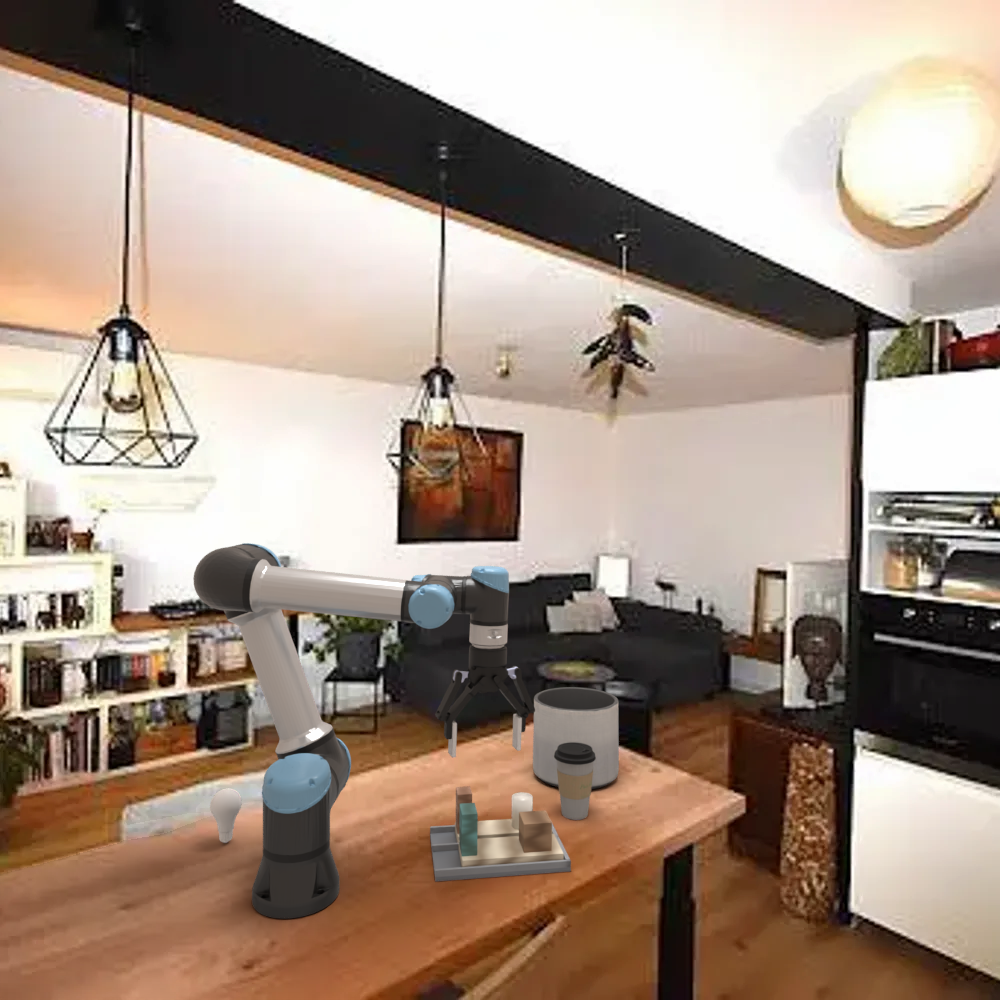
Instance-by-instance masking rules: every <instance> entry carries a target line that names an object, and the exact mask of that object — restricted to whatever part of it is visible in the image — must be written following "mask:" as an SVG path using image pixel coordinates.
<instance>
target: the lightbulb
mask: <svg viewBox="0 0 1000 1000" xmlns="http://www.w3.org/2000/svg"><path fill="white" fill-rule="evenodd" d="M242 800H243V799H242V797H241V795H240V792H238V791H237V790H236V789H234V788H231V787H230V788H229V787H227V788H223V789H220V790H218V791H217V792H216V793H215V794H214V795H213V797H212V798H211V800H210V805H209V809H210V813H211V814H212V817H214V819H215V823H216V825H217V832H218V836H219V837H218V839H219V841H220V842H221V843H223V844H227V843H229V841H231V840H232V839H233V835H234V832H233V831H234V828H235V823H236V818H237V817H238V814H239V813H240V810H241V808H242V804H243V803H242Z"/></svg>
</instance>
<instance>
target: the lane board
mask: <svg viewBox="0 0 1000 1000" xmlns="http://www.w3.org/2000/svg"><path fill="white" fill-rule="evenodd" d="M552 834H554V835H555V837H556V839H557V841H558V843H559V845H560V847H561V849H562V851H563V853H564V860H554V861H540V862H526V863H513V864H499V865H485V866H471V867H462V866H461V861H460V855H459V850H458V848H459V843H457V839H456V834H455V824H452V825H450V824H449V825H433V826H431V825H430V827H429V837H430V846H431V855H432V856H431V857H432V865H433V874H434V882H445V881H457V880H460V881H461V880H471V879H472V880H473V879H486V878H500V877H514V876H523V875H524V876H525V875H527V876H529V875H539V874H552V873H566V872H571V870H572V860H571V858H570V856H569V854H568V853H567V850H566V848H565V846H564V844H563V842H562V840H561V839H560V836H559V834H558V832H557V830H556V827H555V826H554V824H553V823H552Z"/></svg>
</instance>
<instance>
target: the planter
mask: <svg viewBox="0 0 1000 1000" xmlns="http://www.w3.org/2000/svg"><path fill="white" fill-rule="evenodd" d="M533 705H534V708H535V712H534V713H533V739H532V740H533V741H532V745H533V746H532V770H533V773H534V774H535V776H536V777H538V778H539V779H540V781H542V782H544V783H545V784H548V785H550V786H552V787H555V788H559V786H558V775H557V760H556V759H555V758H554V755H555V751H556V750H557V748H558V746H559V745H560V744H563V743H569V742H577V743H583V744H587V745H589V746H591V747H592V750H593V752H594V753H595V757H596V759H595V761H594V762H593V778H592V787H591V790H595V789H600V788H604V787H606V786H608V785H610V784H611V783H612V782H613V781H615V780H616V779H617V778H618V776H619V768H620V767H619V765H620V763H619V762H620V761H619V755H620V754H619V753H620V752H619V751H620V750H619V749H620V748H619V744H620V743H619V742H620V741H619V699H618V698H617V696H615V695H614V694H612V693H610V692H607V691H604V690H599V689H595V688H590V687H577V686H576V687H575V686H573V687H572V686H571V687H569V686H568V687H554V688H549V689H545V690H542V691H540V692H537V693H536V694H535V695H534V697H533Z"/></svg>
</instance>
